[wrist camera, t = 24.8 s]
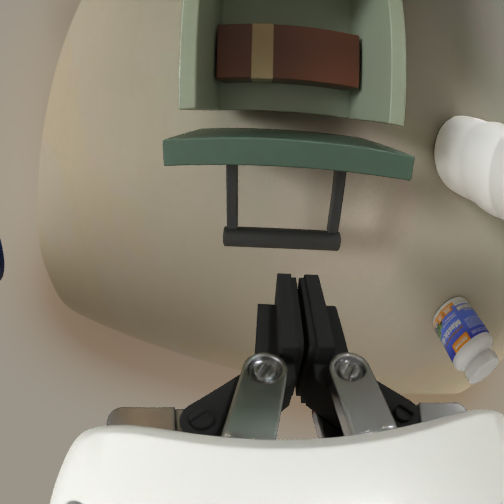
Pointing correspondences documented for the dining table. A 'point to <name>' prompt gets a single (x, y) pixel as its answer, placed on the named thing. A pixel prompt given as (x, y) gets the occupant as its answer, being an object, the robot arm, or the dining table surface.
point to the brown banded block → (287, 56)
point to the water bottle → (473, 161)
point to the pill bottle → (465, 339)
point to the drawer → (293, 105)
